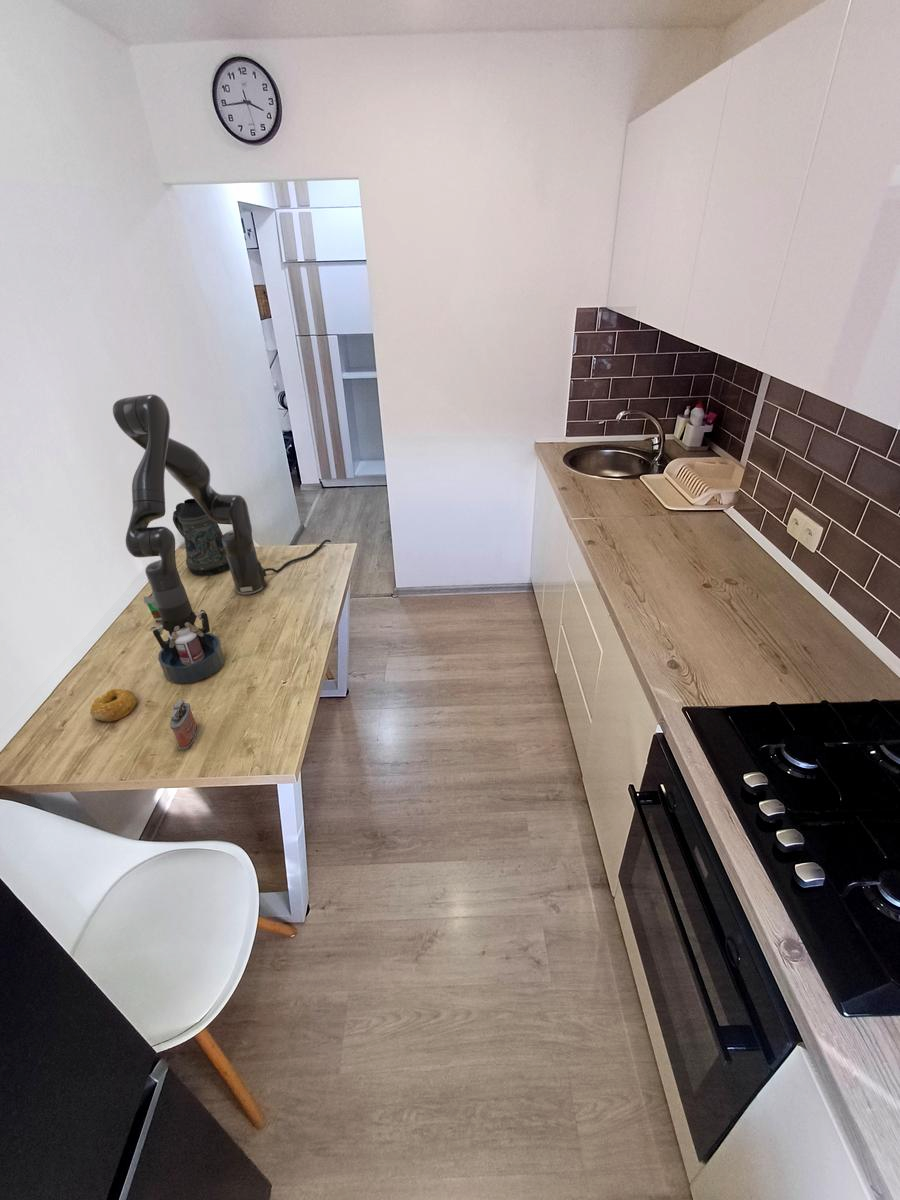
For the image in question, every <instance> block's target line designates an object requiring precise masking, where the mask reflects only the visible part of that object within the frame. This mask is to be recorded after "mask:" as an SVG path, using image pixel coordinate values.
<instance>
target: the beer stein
mask: <svg viewBox="0 0 900 1200" xmlns="http://www.w3.org/2000/svg"><path fill="white" fill-rule="evenodd" d="M172 514H173V515H172V522H173V525H174V526H175V528H176V530H177V532H178V533H179V534H180V535H181V536H182V537H183V539H184V544H185V553H186V554H185V555H186V557H185V558H186V559H185V564H186V567H187V568H188V570H189V572H190V573H191V574H192V575H194V576H199V577H208V576H209V577H210V576H215V575H219V574H222V573H224V572H226V571H228V570H230V567H229V564H228V560H227V557H226V553H225V550H224V546H223V543H222V536H223V535H224V533H223V532H222V530H221V528H220V526H219V524H218V523H215V522H213V521H212V520H211V519H210V518H209V517H208V516H207V514H206V513H205V512H204V510H203V509H202V508H201V506H200V505H199V504H198V502H197V501H196V500H195V499H194V498H186V499H185V500H184V501H183V502H179V503H177V504H176V506H175V510H174V511H173V512H172Z"/></svg>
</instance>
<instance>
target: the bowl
mask: <svg viewBox="0 0 900 1200" xmlns="http://www.w3.org/2000/svg"><path fill="white" fill-rule="evenodd" d="M204 637H205V640H206V645H205V648H202V649H203V652H204V658H203V659H202V660H201V661H199V662H197V663H194V664H191V665H184V664H182V663H181V661H180V658H176V657H173V656H172V654H171V651H170V649H169V648H165V649H162V648H161V650H160V651H159V653H158V656H157V660H158V663H159V665H160V668H161V670H162V672H163V675H164V677H165V679H166V680H168V681H169V682H172V683H176V684H191V683H194V682H199V681H201V680H204V679H207V678H209V677H210V676H212V675H213V674H215V673H216V672H218V671H219V670H220V669H221V668H222V667H223V664H225V661H226V654H225V651H224V648H223V644H222V641H221V640H220V638H219V636H217V635H215V634H214V633H211V632H208V633H205V634H204Z"/></svg>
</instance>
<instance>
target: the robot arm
mask: <svg viewBox="0 0 900 1200" xmlns="http://www.w3.org/2000/svg"><path fill="white" fill-rule="evenodd" d="M112 414H113V418H114V420H115V422H116V424H117V425H118V427H119V428H120V430H121V431H122V432H123V433H124V434H125V435H126V436H127V437H128V438H130V439H131V440H132V441H134V443H136V444H137V445H138V446H140V447H141V449H143V450H144V453H143V456H142V458H141V460H140V462H139V464H138V466H137V468H136V470H135V473H134V475H133V477H132V482H131V483H132V484H131V500H132V501H131V502H132V511H131V514H130V520H129V523H128V527H127V531H126V534H125V546H126V549H127V551H128V553H129V554H130V555H131V556H132V557H134V558H151V557H159V558H160V559H157V560H155V561H152V562H151V563H149V564H148V565H147V566H146V567H145V570H144V571H145V576H146V579H147V581H148V584H149V586H150V589H151V594H152V593H153V597H154V601H155V603H156V605H157V608H158V611H159V613H160V616H161V618H162V622H161V625H158V626H152V627H151V628H150V629H151V632H152V634H153V635H154V638H155V639H156V641H157V643H158V644H159V646H160V648H161V650H162V649H165V648H169V649H170V651H171V654H172V656H173V657H176V658H179V655H178V652H177V649H176V647H175V640H176V639H177V631H179V629H182V628H184V627H187V628H189V629H190V630H191V631H193V632H194V633H196V634H197V635H198V638H199V641H200V643H201V646H202V648H205V645H206V640H205V637H204V634H205V633H211V627H210V622H209V616H208V613H207V612H206V611H205V610H204V609H200V610H199V611H198V612H194V611H193V608H192V606H191V603H190V600H189V597H188V594H187V590H186V588H185V586H184V584H183V582H182V580H181V577H180V573H179V571H178V567H177V561H176V538H175V534H174V533H173V532H172V531H171V529H170V528H168V527H166V526H150V527H149V525H150V523H151V522H153V521H155V520H159V519H162V518H163V517H164V516H165V515H166V495H165V471H166V472H168V473H169V475H171V477H172V478H173V479H174V480H175V481H176V482H177V483H178V484H179V485H180V486H181V487H182V488H183V489H185V491H187V493H188V494H189V495H190V496H191V497H192V499H195V500H196V501H197V502H198V504H199V505H200V506H201V508H202V509H203V510H204V512H205V513H206V514H207V516H208V517H209V518H210V519H211V520H212V521H213V522H215V523H218V525H230V526H231V527H232V529H231V530H229V531H227V532H225V533H223V536H222V543H223V546H224V550H225V553H226V557H227V560H228V564H229V567H230V568H229V570H230V571H229V572H230V574H231V577H232V581H233V585H234V589H235V593H236V594H238V595H240V596H249V595H255V594H257V593H259V592H261V591H263V589H265V588H267V583H266V579H265V577H267V572H268V571H273V572H274V573H280V572H281V571H283V570H284V569H285V568H286V567H287V566H288V565H290V564H291V563H294V562H297V561H301V560H304V559H308V558H309V557H311V556H313V555H314V554H315V553H316V552H317V551H318V550H319V549H320V548H322V547H323V546H324V545H325V544H326V543H331V542H332V540H331V539H325V540H323V541H322V542H321V543H320V544H319V545H318V546H319V547H318V546H316V547H315V548H314V549H313V550H312V551H311V552H310V553H308V554H306V555H303V556H300V557H297V558H293V559H290V560H289V561H287V562H285V563H284V564H283V565H282V566H281V567H280V568H278V569H275V568H273V567H267V568H264V567H263V566H262V564H261V562H260V560H259V559H258V554H257V551H256V547H255V543H254V539H253V528H252V523H251V517H250V511H249V507H248V504H247V501H246V499H245V497H243V496H242V495H240V494H223V493H222V494H221V493H219V492H217V491H216V490H214V488H213V487H211V485H210V484H211V470H210V468H209V466H208V465H207V463H206V462H205V460H204V459H203V458H202V457H201V456H200V455H199V454H198V452H196V451H195V450H194V449H193V448H191V447H190V446H188V445H186V444H184V443H181V442H179V441H177V440H175V439H173V438H171V437H170V430H171V416H170V411H169V408H168V406H167V403H166V402H165V400H164V399H163V398H162V397H160V396H159V395H157V394H153V393H152V394H150V393H149V394H142V395H135V396H130V397H129V396H128V397H124V398H120V399H118V400H116V401H115V402H114V403H113V405H112ZM197 618H198V620H200V621H201V624H202V627H201V628H200V627H199V626H197V625H196V624H195V622H196V621H197ZM164 630H165V631H167V632H168V633H167V640H164V639H163V637H162V635H163V633H164Z"/></svg>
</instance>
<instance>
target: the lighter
mask: <svg viewBox="0 0 900 1200" xmlns="http://www.w3.org/2000/svg"><path fill="white" fill-rule="evenodd" d="M191 707H192V706H191V704H190V703H189V702H185V701H184V699H182V698H181V699H178V700H177V701H176V704H174V705H173V706H172V713H171V715H170V717H169V718H170V721H169V727H170V730H172V732H173V735H174V736H175V739H176V742H177V744H178V749H179V750H180V751H181V752H185V751H188V750H190V749H191V748H192V747H193V745H194V744H195V741H196V740H197V737H198V735H199V730H200V729H199V725H198V723H197V722H196V720H195V717H194V714H193V711H192V709H191Z"/></svg>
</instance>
